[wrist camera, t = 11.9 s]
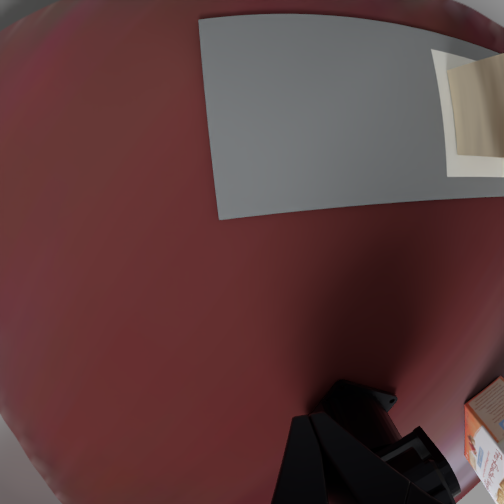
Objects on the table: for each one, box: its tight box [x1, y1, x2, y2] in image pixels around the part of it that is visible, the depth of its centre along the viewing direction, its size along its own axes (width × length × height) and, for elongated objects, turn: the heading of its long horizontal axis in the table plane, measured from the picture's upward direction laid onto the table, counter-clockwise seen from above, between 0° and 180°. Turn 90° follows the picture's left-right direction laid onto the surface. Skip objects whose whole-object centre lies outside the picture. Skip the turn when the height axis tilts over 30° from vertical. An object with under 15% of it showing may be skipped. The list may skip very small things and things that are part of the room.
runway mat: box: [198, 14, 504, 220], centre depth 17 cm, size 26×12×1 cm, turn 96°
